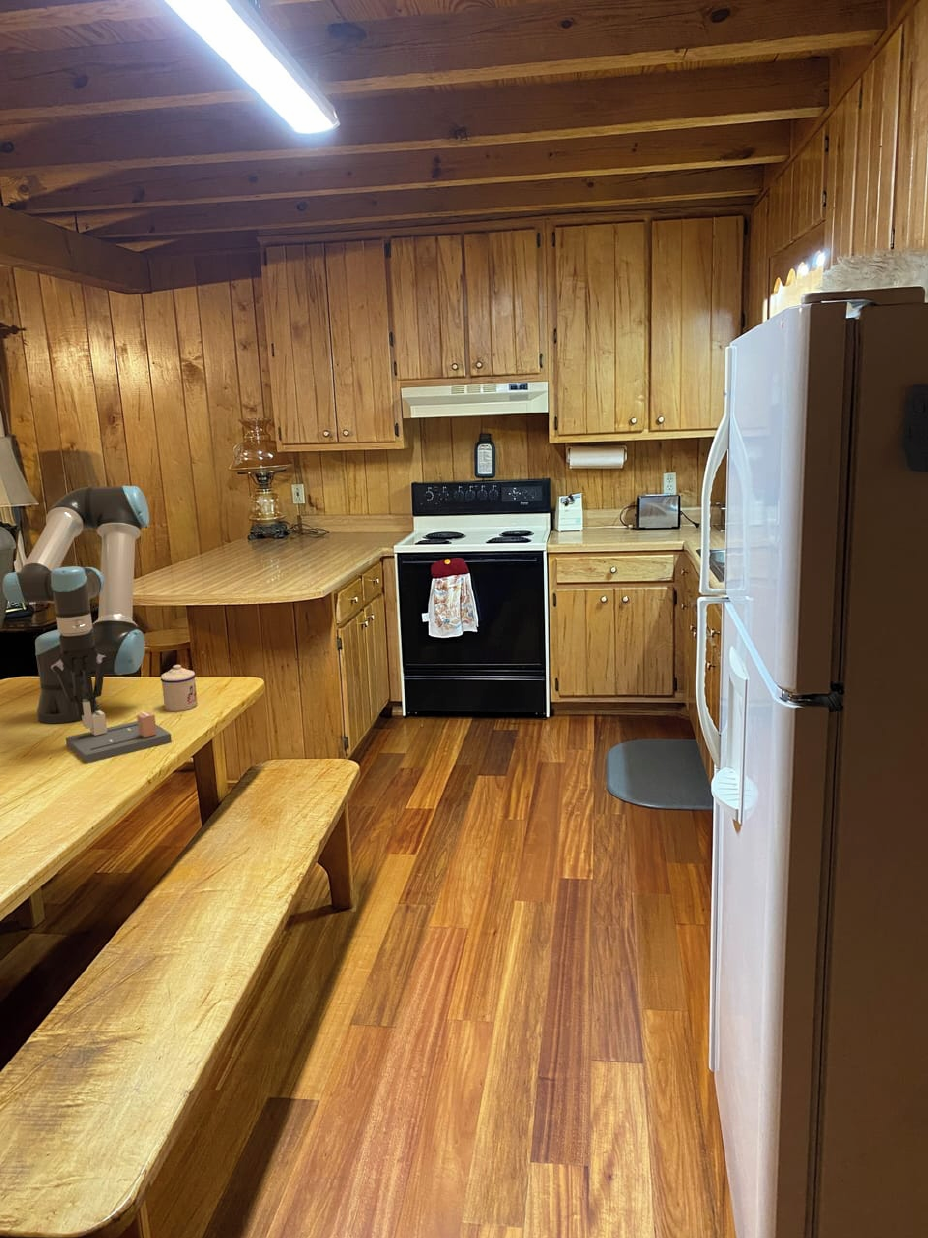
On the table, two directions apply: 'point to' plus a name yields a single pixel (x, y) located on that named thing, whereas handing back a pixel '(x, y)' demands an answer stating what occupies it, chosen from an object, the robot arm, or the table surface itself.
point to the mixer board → (114, 742)
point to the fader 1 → (98, 723)
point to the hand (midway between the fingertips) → (88, 726)
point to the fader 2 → (146, 724)
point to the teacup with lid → (179, 689)
